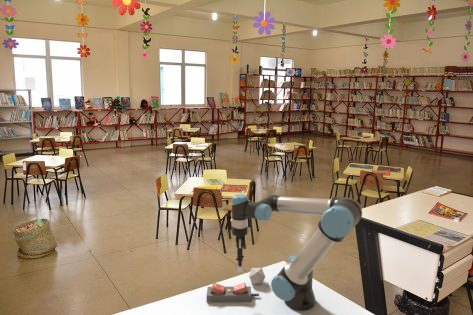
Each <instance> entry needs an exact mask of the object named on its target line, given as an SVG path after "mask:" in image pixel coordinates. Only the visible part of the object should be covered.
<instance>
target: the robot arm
mask: <svg viewBox="0 0 473 315" xmlns="http://www.w3.org/2000/svg"><path fill="white" fill-rule="evenodd" d="M273 212H275V213H286V214H287V213H288V214H298V215H299V214H300V215H309V216H310V215H311V216H320V217H321V219H320V220H319V222H318V223H317V228H318V229H317V230H316V231H315V232H314V234H313V235H312V236H311V237H310V238H309V240H308V241H307V242H306V244H305V245H304V246H303V247H302V249H301V250H300V251H299V252H298V254H294V255H290V256H289V257H288V260H287V261H288V262H287V263H285V265H284V266H283V268H281V269H280V271H279V272H278V273H277V274H276V275H275V276H273V278H272V279H271V283H270V287H271V290H272V292H273V293H274V295H275V296H276V297H277V298H278V299H280V300H282V301H283V302H284V304H285V305H286V307H287V306H288V307H289V308H291V309H292V310H296V311H307V310H310V309H312V308H314V306H316V295H315V292H314V289H313V277H314V274H313V273H314V268H315V267H316V266H317V265H318V263H320V262H321V260H322V259H323V257H324V256H325V255H326V254H327V253H328V252H329V251H330V249H332V247H333V246H334V245H335V244H339V243H341V242H343V240H344V239H345V238H346V237H347V235H349V233H351V232H352V230H353V229H354V228H355V226H356V225H357V224H358V223H359V222H361V221H360V220H362V216H363V209H362V207H361V204H360V203H359V202H358V201H357V200H355V199H353V198H350V197H343V196H342V197H339V196H337V197H336V196H332V197H331V198H314V197H299V196H298V197H297V196H295V197H294V196H281V195H279V194H278V193H273V194H270V195H268V196H266V197H264V198H263V199H261V200H259V201H251V200H249V199H248V195H246V194H244V193H237V194H234V195H232V196H231V219H230V222H231V233H232V235H233V236H235V245H236V246H235V248H237V250H236V251H237V252H236V254H237V255H236V257H237V258H235V261H236V263H237V264H236V267H237V268H236V269H237V270H236V271H237V272H238V273H243V271H244V270H243V269H244V261H243V260H244V258H245V256H244V253H243V248H244V243H245V236H247V235H248V231H249V230H248V227H249V225H248V224H249V222H248V220H249V218H250V219H254V220H257V221H264V222H267V221H269V220H270V218H271V216H272V213H273Z"/></svg>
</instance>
